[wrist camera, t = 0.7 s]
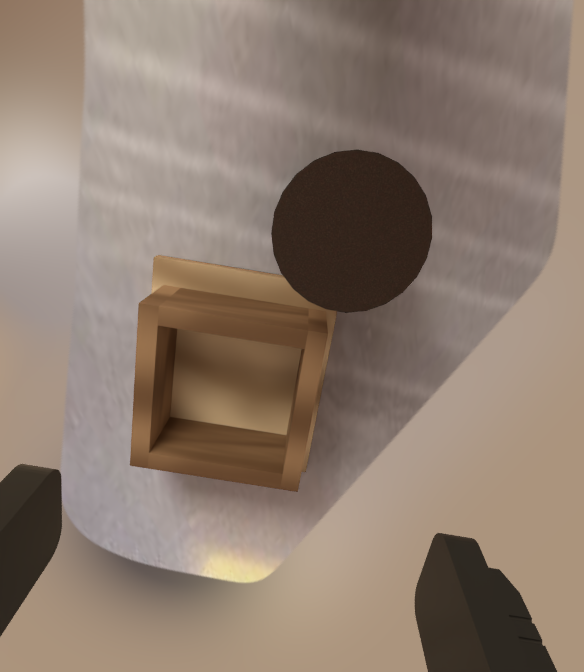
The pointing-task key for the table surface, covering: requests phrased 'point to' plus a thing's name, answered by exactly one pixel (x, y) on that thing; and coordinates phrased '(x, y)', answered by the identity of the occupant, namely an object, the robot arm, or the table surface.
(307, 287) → the deodorant
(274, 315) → the holder
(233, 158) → the table surface
